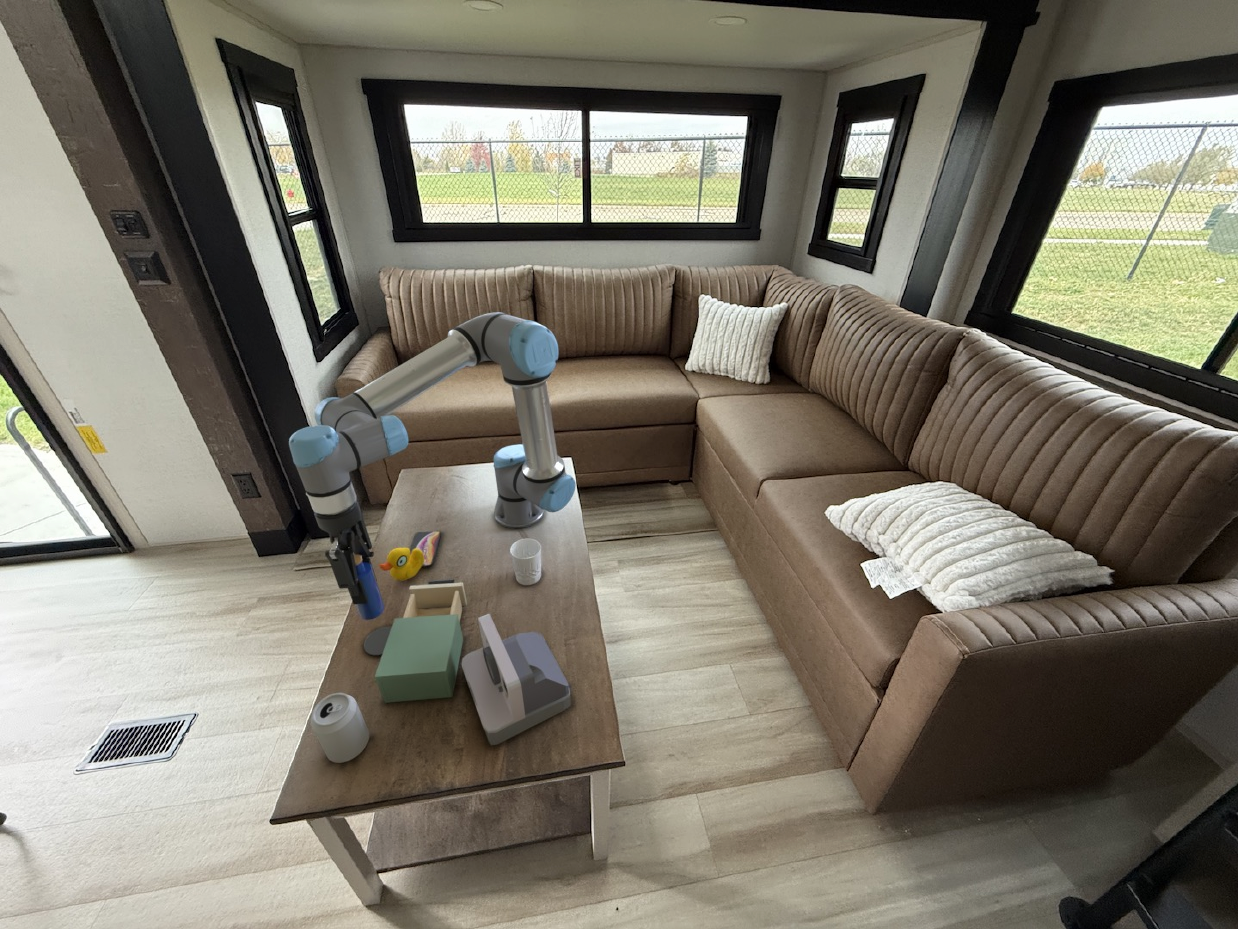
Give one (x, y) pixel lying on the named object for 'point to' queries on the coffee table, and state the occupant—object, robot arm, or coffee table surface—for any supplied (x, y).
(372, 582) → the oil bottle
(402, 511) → the coffee table surface
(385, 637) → the coaster
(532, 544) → the white cup
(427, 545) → the smartphone
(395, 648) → the cabinet
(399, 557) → the duckling
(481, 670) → the grey stand
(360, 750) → the can
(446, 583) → the drawer
